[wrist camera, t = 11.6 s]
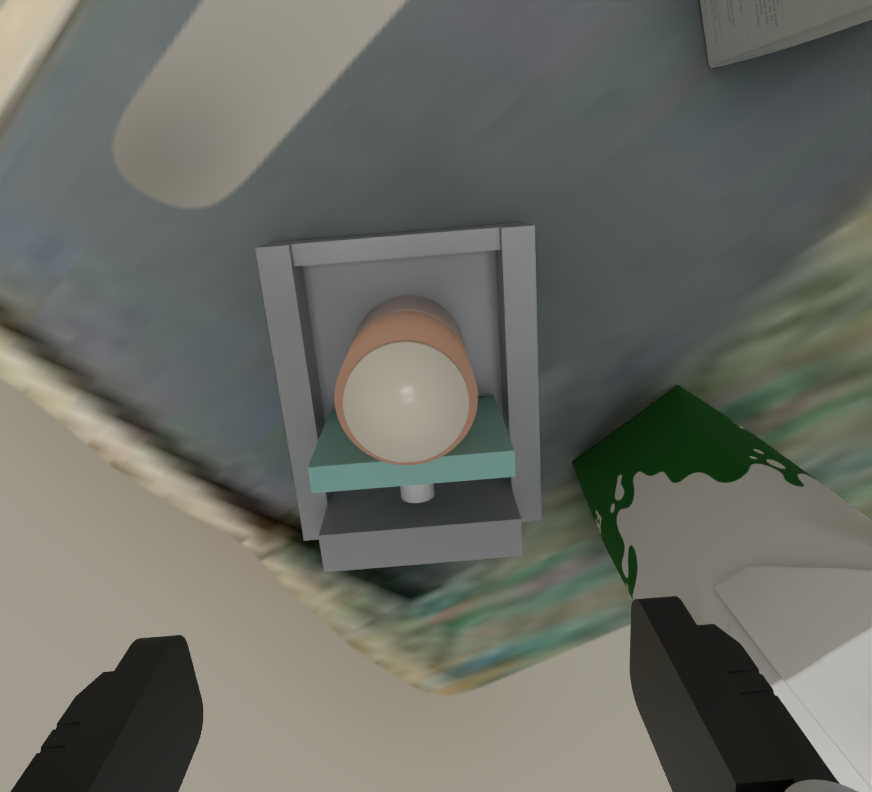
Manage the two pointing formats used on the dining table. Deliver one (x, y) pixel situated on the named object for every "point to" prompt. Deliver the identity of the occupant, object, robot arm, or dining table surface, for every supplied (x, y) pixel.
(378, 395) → the jar
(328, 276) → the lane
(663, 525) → the milk carton
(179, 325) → the dining table surface
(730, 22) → the skincare box
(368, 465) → the plate
